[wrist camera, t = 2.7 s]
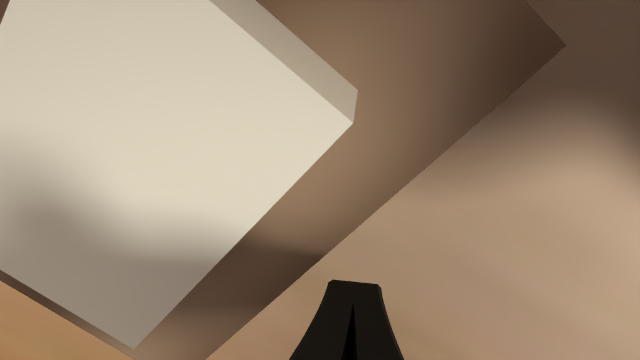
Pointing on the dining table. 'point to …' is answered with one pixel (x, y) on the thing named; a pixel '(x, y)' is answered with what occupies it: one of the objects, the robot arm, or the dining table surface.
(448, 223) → the dining table surface
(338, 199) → the brown flat block
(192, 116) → the cream rectangular block
